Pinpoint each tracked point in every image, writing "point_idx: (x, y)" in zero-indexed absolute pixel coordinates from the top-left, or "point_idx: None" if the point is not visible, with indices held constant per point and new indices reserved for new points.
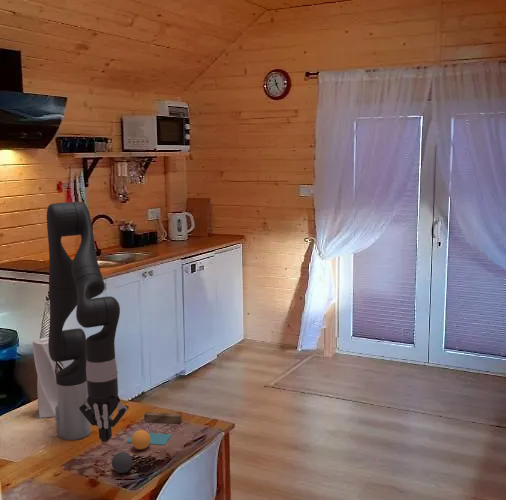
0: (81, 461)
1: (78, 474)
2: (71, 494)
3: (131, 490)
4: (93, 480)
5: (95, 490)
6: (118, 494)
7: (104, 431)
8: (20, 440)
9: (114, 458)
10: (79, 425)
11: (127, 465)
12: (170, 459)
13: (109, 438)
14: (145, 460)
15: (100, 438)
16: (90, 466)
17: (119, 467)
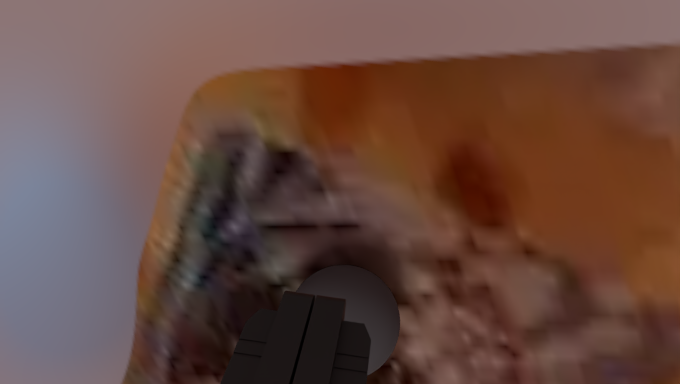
0: (598, 378)
1: (585, 266)
2: (577, 61)
3: (235, 120)
4: (481, 211)
5: (438, 112)
6: (290, 76)
7: (273, 381)
8: None
9: (372, 326)
10: None
11: (299, 290)
12: (170, 376)
13: (248, 320)
14: None
15: (357, 330)
16: (536, 335)
17: (339, 275)
